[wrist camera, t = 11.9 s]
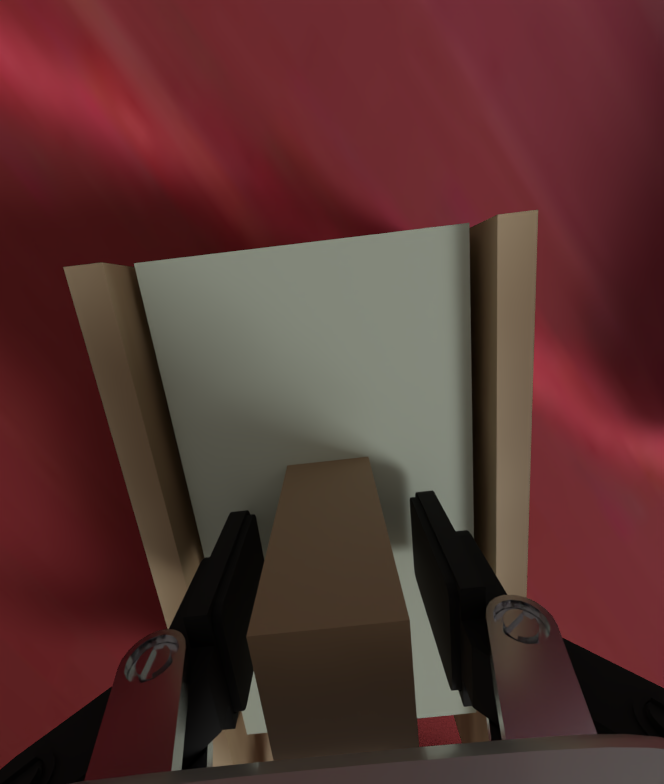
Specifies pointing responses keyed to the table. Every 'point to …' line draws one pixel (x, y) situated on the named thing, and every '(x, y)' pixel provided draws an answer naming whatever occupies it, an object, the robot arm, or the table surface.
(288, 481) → the lid
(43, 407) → the table surface
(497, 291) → the toolbox
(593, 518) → the table surface
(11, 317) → the table surface
